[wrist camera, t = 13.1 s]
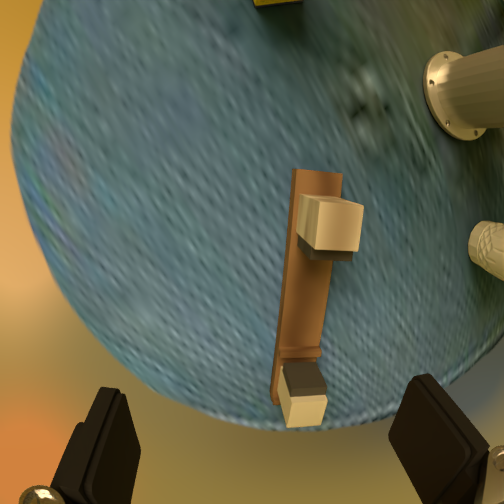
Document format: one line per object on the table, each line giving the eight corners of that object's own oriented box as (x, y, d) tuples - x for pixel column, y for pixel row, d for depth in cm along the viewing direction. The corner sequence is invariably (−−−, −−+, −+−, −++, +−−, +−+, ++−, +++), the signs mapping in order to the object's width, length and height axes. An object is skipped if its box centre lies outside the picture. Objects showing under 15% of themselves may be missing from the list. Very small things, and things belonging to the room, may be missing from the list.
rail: (336, 173, 34) (371, 177, 25) (304, 390, 41) (321, 434, 33) (292, 168, 33) (316, 170, 25) (269, 391, 41) (280, 438, 32)
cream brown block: (313, 357, 38) (329, 392, 31) (306, 389, 39) (320, 425, 32) (282, 358, 37) (293, 394, 30) (277, 390, 39) (286, 427, 32)
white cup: (497, 258, 40) (540, 278, 30) (465, 274, 39) (509, 299, 30) (496, 211, 37) (543, 224, 28) (463, 223, 37) (512, 240, 28)
